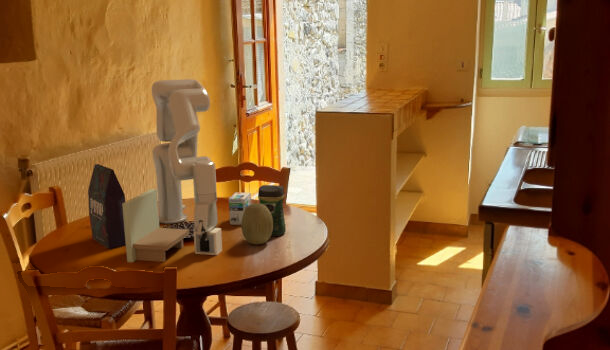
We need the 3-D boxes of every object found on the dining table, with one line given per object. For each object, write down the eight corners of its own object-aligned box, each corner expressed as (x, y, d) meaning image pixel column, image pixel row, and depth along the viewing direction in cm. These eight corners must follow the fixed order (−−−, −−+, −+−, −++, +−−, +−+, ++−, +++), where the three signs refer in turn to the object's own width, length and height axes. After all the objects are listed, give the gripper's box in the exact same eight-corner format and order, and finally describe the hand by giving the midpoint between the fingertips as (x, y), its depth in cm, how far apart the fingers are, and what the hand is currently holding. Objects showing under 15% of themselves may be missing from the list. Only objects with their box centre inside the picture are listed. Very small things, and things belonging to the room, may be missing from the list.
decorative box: (108, 249, 210) (101, 171, 204) (90, 238, 222) (83, 165, 216) (130, 244, 215) (124, 168, 209) (111, 234, 227) (105, 161, 221)
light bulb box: (245, 225, 236) (244, 199, 233) (229, 224, 237) (228, 198, 234) (252, 217, 246) (251, 192, 244) (236, 217, 247) (235, 192, 245)
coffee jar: (287, 231, 228) (286, 183, 224) (281, 237, 220) (280, 188, 216) (263, 229, 230) (262, 182, 226) (256, 235, 223) (255, 187, 218)
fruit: (253, 236, 222) (252, 197, 218) (279, 240, 216) (278, 201, 213) (235, 245, 212) (234, 205, 209) (262, 250, 207) (261, 208, 203)
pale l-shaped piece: (155, 242, 217) (151, 189, 212) (191, 244, 214) (188, 190, 209) (127, 261, 198) (122, 203, 193) (166, 264, 195) (162, 205, 190)
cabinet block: (200, 248, 209) (199, 226, 208) (222, 250, 207) (221, 228, 206) (194, 253, 204) (193, 231, 203) (216, 255, 202) (215, 232, 201)
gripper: (205, 190, 211) (207, 239, 215) (184, 203, 194) (187, 256, 198) (225, 191, 209) (227, 241, 213) (206, 204, 193) (209, 257, 197)
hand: (208, 247), depth 206 cm, fingers closed on cabinet block, 5 cm apart
